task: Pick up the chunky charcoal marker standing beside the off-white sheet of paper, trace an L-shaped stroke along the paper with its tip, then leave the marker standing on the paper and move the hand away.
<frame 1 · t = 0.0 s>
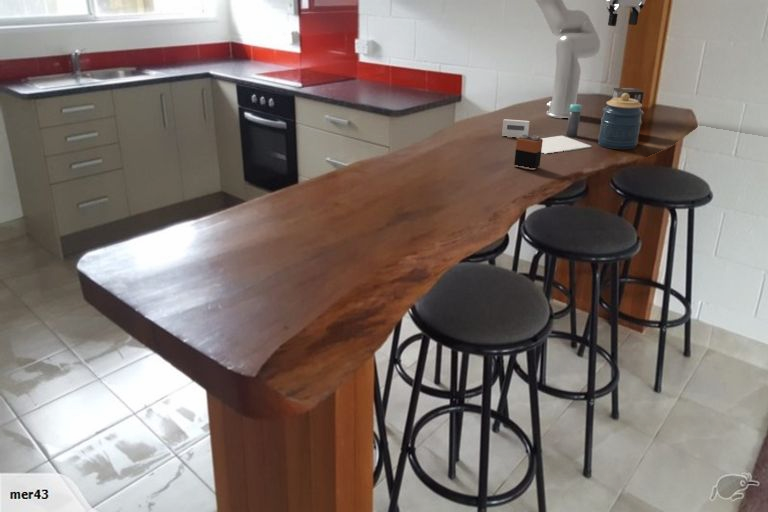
hand: (622, 25, 214), 37 cm above the counter, tool pointing down, fingers open, 9 cm apart
canister: (616, 145, 211), on the counter
coffee box: (620, 134, 224), on the counter
battery: (526, 168, 188), on the counter
word card: (514, 137, 219), on the counter
paper: (553, 145, 210), on the counter
marker: (571, 135, 221), on the counter
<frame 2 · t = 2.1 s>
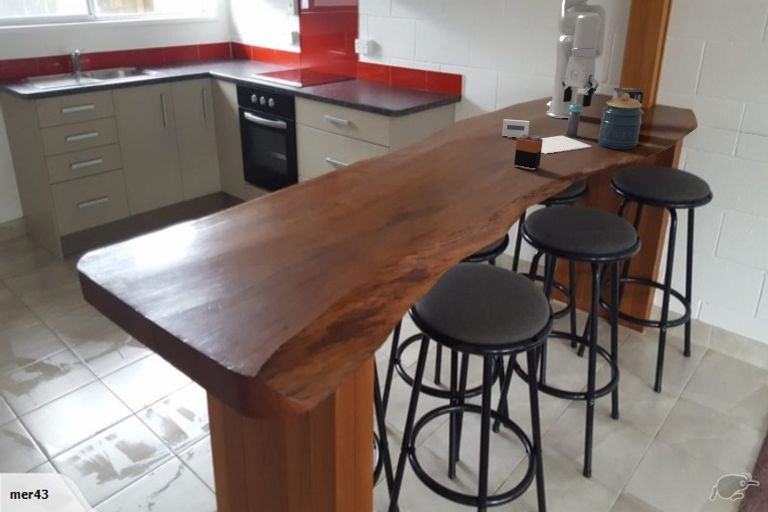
hand: (576, 103, 215), 12 cm above the counter, tool pointing down, fingers open, 9 cm apart
nothing on the counter moved.
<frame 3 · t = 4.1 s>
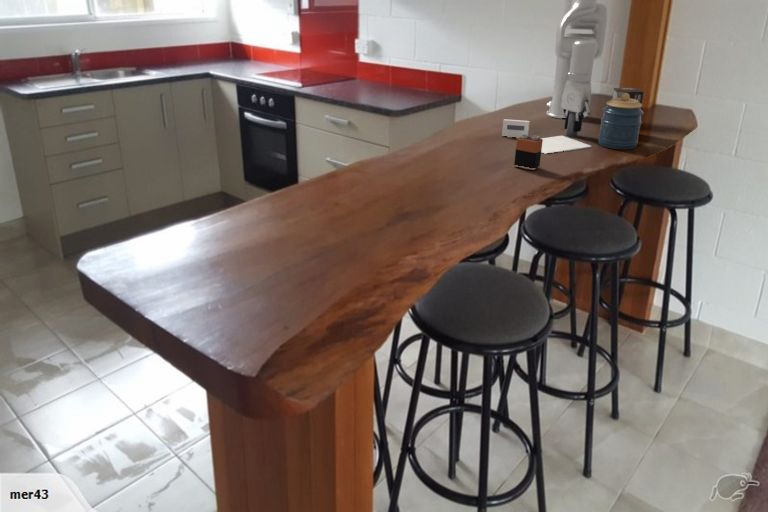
hand: (572, 129, 220), 2 cm above the counter, tool pointing down, fingers closed on marker, 3 cm apart
marker: (571, 135, 221), on the counter, touching gripper
everything else where it was.
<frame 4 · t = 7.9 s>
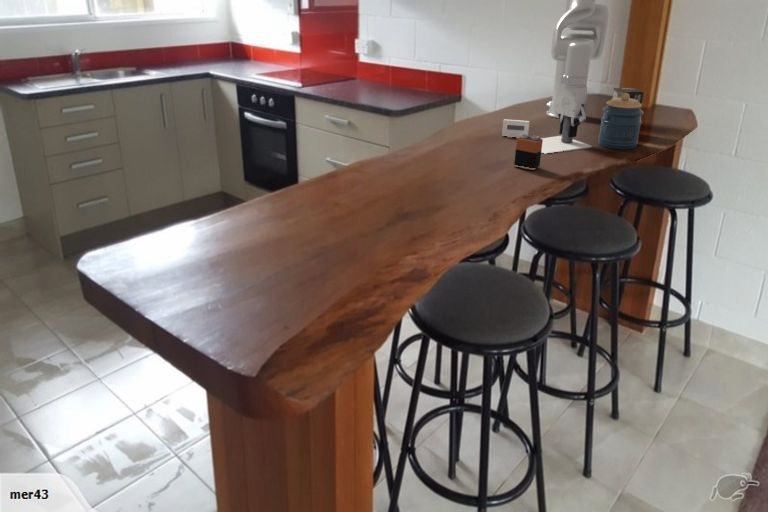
hand: (567, 134, 211), 3 cm above the counter, tool pointing down, fingers closed on marker, 3 cm apart
marker: (566, 141, 212), point 1 cm above the counter, touching gripper
everything else where it was.
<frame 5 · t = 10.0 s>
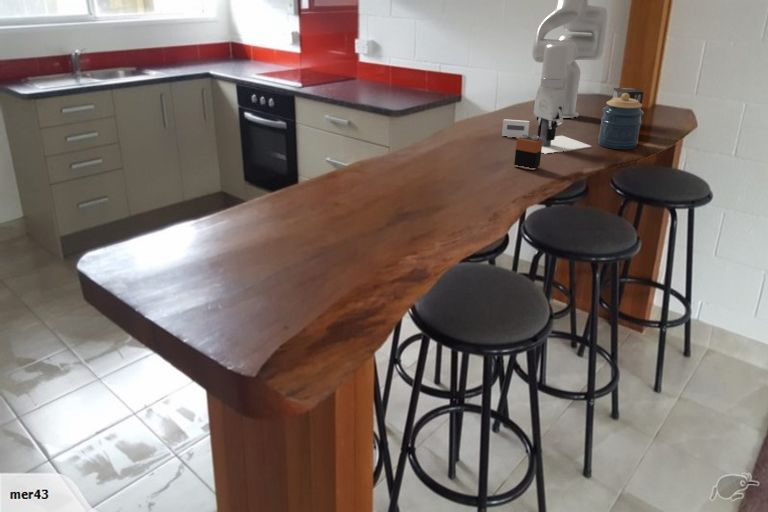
hand: (545, 137, 207), 3 cm above the counter, tool pointing down, fingers closed on marker, 3 cm apart
marker: (544, 144, 208), point 1 cm above the counter, touching gripper
everything else where it was.
when the fingers open (3 cm above the counter, at t = 11.7 s): marker stays where it is, resting on paper.
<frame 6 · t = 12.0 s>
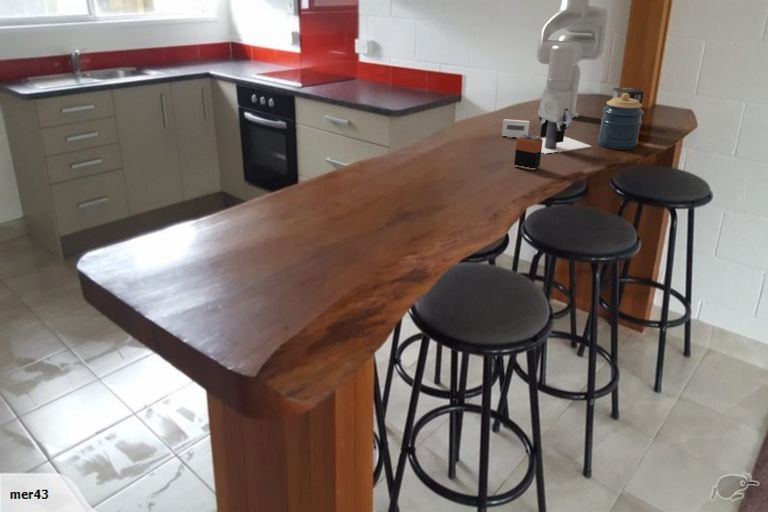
hand: (551, 138, 205), 3 cm above the counter, tool pointing down, fingers open, 6 cm apart
marker: (550, 147, 206), resting on paper
everything else where it was.
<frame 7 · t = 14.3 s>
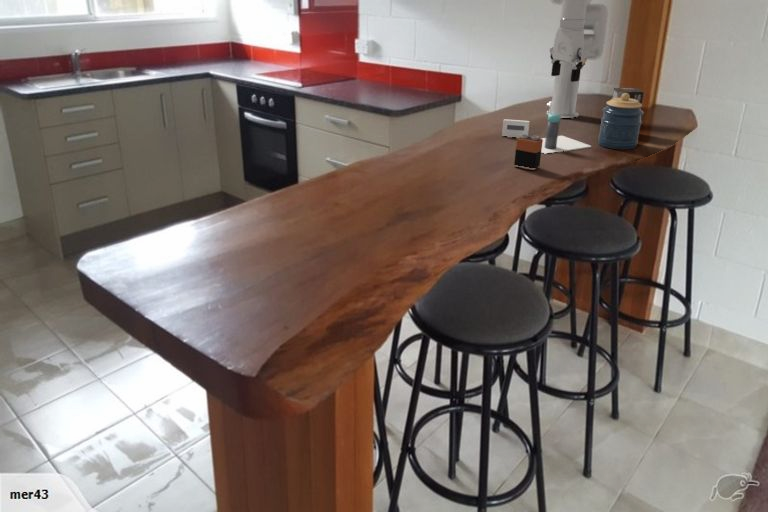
hand: (564, 78, 206), 21 cm above the counter, tool pointing down, fingers open, 9 cm apart
nothing on the counter moved.
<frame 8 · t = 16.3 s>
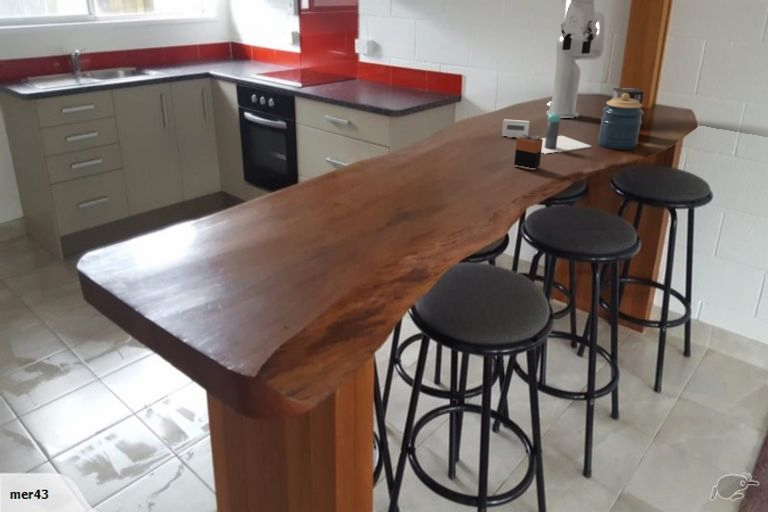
hand: (575, 51, 214), 28 cm above the counter, tool pointing down, fingers open, 9 cm apart
nothing on the counter moved.
at the end: marker inside the target area on the paper (4.9 cm from its centre), point 0.4 cm above the paper's base; the gripper is holding nothing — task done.
